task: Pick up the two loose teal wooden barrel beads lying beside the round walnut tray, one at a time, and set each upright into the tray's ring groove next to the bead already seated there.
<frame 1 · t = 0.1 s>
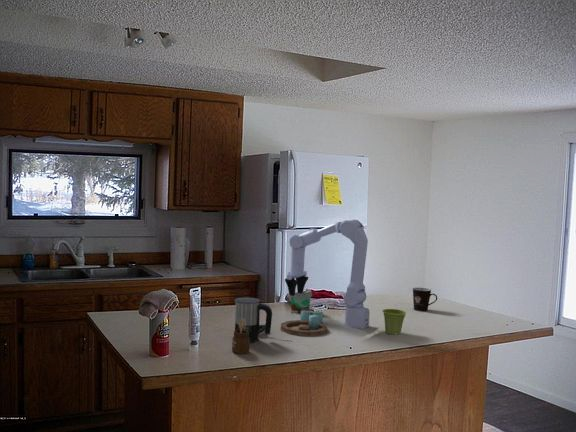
hand: (296, 294, 263), 10 cm above the table, tool pointing down, fingers open, 7 cm apart
groove tray: (303, 332, 238), on the table
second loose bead: (317, 324, 253), on the table
plant pot: (393, 333, 245), on the table
brown bottle: (240, 352, 208), on the table
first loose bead: (305, 323, 253), on the table
food container: (303, 314, 271), on the table, touching gripper
coffee mug: (422, 311, 290), on the table
milk frother: (250, 337, 228), on the table
seated bead: (313, 328, 241), point 1 cm above the table, touching groove tray
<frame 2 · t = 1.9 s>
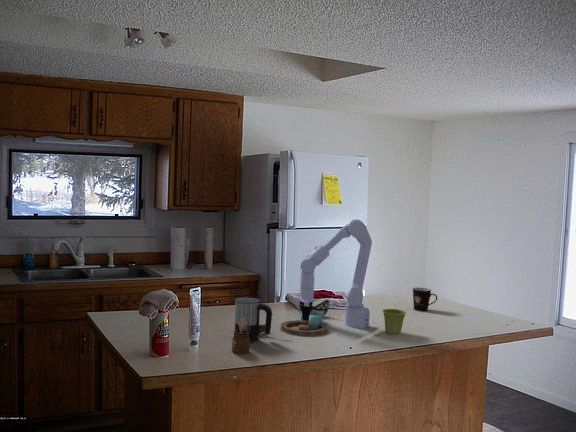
hand: (305, 320, 253), 1 cm above the table, tool pointing down, fingers closed on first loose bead, 4 cm apart
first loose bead: (305, 323, 253), on the table, touching gripper
food container: (305, 309, 270), point 2 cm above the table
everything else where it was.
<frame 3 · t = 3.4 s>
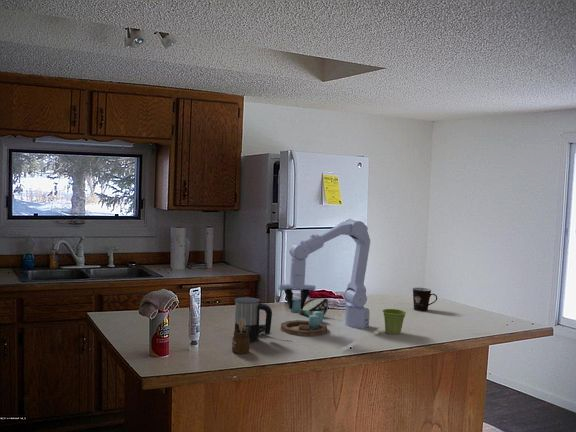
hand: (295, 308, 241), 9 cm above the table, tool pointing down, fingers closed on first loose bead, 4 cm apart
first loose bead: (295, 312, 241), point 7 cm above the table, touching gripper
when the fingers open (3 cm above the table, at t = 5.0 s): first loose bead stays where it is, resting on groove tray.
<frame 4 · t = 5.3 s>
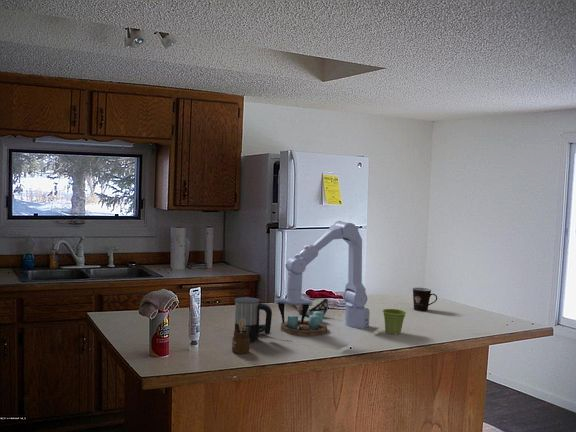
hand: (292, 323, 238), 3 cm above the table, tool pointing down, fingers open, 7 cm apart
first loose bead: (292, 329, 239), point 1 cm above the table, touching groove tray
everything else where it was.
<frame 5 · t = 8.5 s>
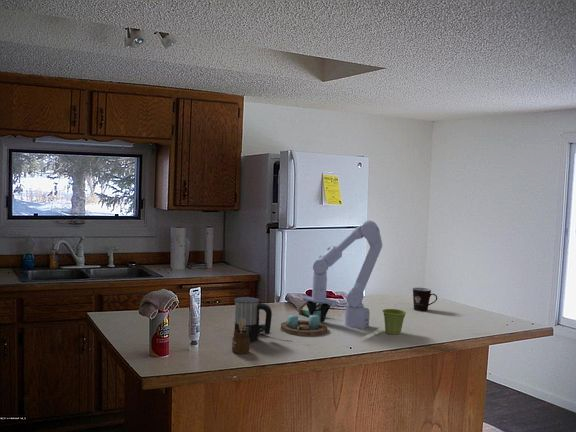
hand: (317, 320, 253), 1 cm above the table, tool pointing down, fingers closed on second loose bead, 4 cm apart
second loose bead: (317, 324, 253), on the table, touching gripper
everything else where it was.
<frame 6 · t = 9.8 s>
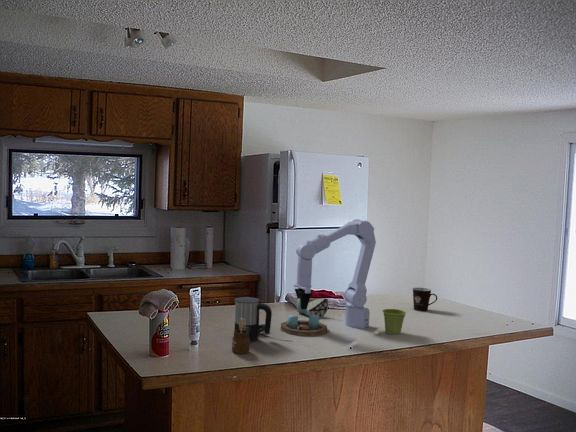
hand: (302, 307, 243), 8 cm above the table, tool pointing down, fingers closed on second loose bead, 4 cm apart
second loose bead: (302, 311, 243), point 7 cm above the table, touching gripper
everything else where it was.
when the fingers open (3 cm above the table, at t = 11.2 s): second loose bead stays where it is, resting on groove tray.
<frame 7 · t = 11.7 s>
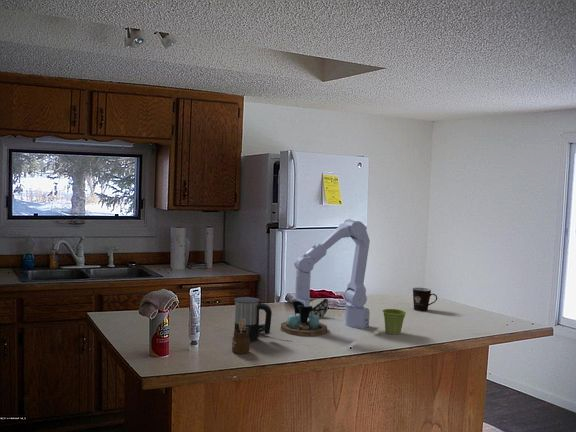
hand: (301, 320, 243), 3 cm above the table, tool pointing down, fingers open, 7 cm apart
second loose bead: (300, 326, 243), point 1 cm above the table, touching groove tray
everything else where it was.
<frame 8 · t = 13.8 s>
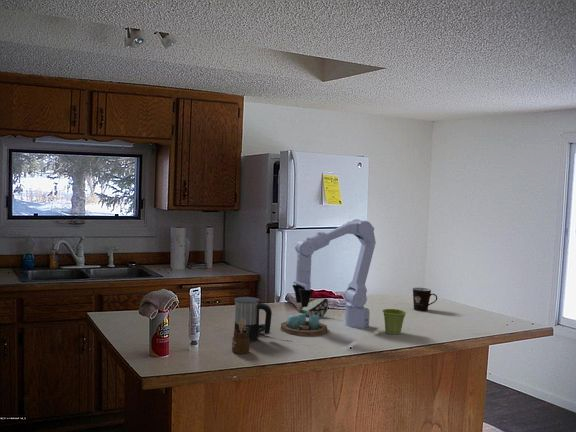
hand: (301, 304, 242), 10 cm above the table, tool pointing down, fingers open, 7 cm apart
nothing on the table moved.
at the end: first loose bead 0.1 cm from the target spot on the groove tray, point 1.0 cm above the groove tray's base; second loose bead 0.1 cm from the target spot on the groove tray, point 1.0 cm above the groove tray's base; seated bead moved 0.1 cm from its start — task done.
